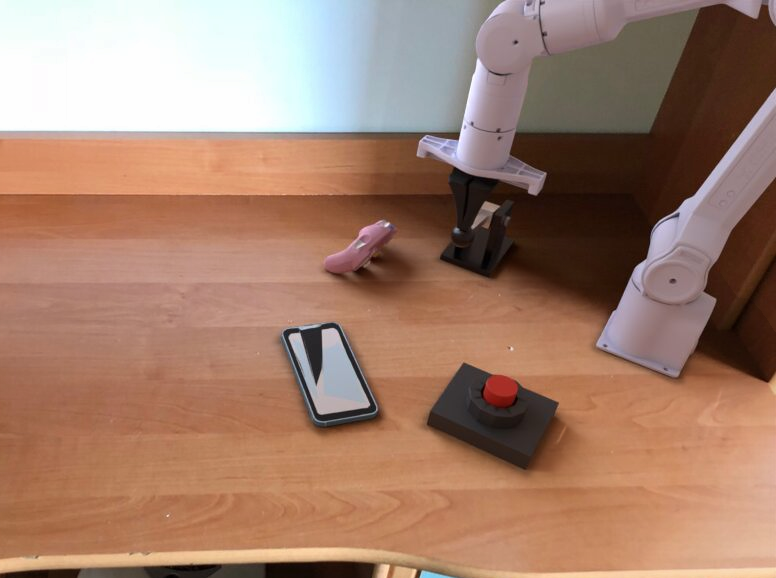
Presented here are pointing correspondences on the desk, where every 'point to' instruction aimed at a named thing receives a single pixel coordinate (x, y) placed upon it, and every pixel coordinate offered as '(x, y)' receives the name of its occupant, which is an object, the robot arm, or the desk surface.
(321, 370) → the smartphone
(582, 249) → the desk surface
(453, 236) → the press lever
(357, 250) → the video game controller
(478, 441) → the button box
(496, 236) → the bracket
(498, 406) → the button
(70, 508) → the desk surface
